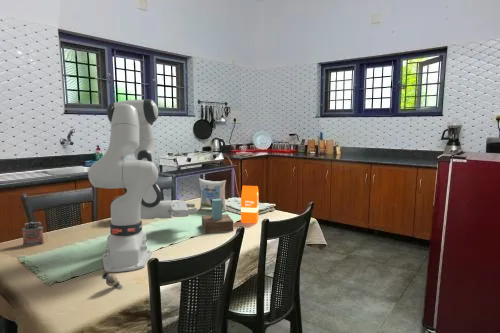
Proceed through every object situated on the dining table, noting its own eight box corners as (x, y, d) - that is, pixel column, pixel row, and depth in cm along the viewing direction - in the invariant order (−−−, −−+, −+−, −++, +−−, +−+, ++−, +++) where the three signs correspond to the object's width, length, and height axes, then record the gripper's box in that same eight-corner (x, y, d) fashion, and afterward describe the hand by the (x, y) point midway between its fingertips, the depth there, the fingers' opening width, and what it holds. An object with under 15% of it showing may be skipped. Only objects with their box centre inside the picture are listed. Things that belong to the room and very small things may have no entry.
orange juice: (256, 223, 182) (257, 187, 180) (240, 222, 183) (240, 186, 181) (258, 219, 190) (258, 184, 187) (243, 218, 191) (243, 184, 189)
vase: (106, 295, 104) (104, 276, 103) (100, 290, 108) (98, 272, 107) (123, 289, 108) (121, 271, 107) (116, 284, 111) (115, 267, 111)
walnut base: (233, 230, 169) (233, 221, 168) (205, 233, 165) (205, 223, 164) (227, 223, 182) (227, 214, 181) (201, 225, 178) (201, 215, 177)
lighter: (21, 246, 145) (20, 224, 144) (24, 243, 148) (23, 221, 147) (42, 244, 147) (41, 222, 146) (45, 242, 150) (43, 220, 149)
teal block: (222, 219, 171) (222, 200, 170) (213, 219, 170) (213, 200, 169) (220, 217, 175) (220, 198, 174) (211, 217, 174) (211, 198, 173)
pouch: (203, 207, 217) (203, 177, 215) (229, 210, 209) (229, 179, 207) (196, 209, 210) (196, 178, 208) (222, 213, 202) (222, 181, 200)
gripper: (168, 207, 155) (198, 206, 158) (166, 198, 174) (193, 197, 178) (168, 221, 155) (198, 219, 159) (167, 210, 175) (193, 209, 179)
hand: (195, 207), depth 169 cm, fingers open, 8 cm apart
